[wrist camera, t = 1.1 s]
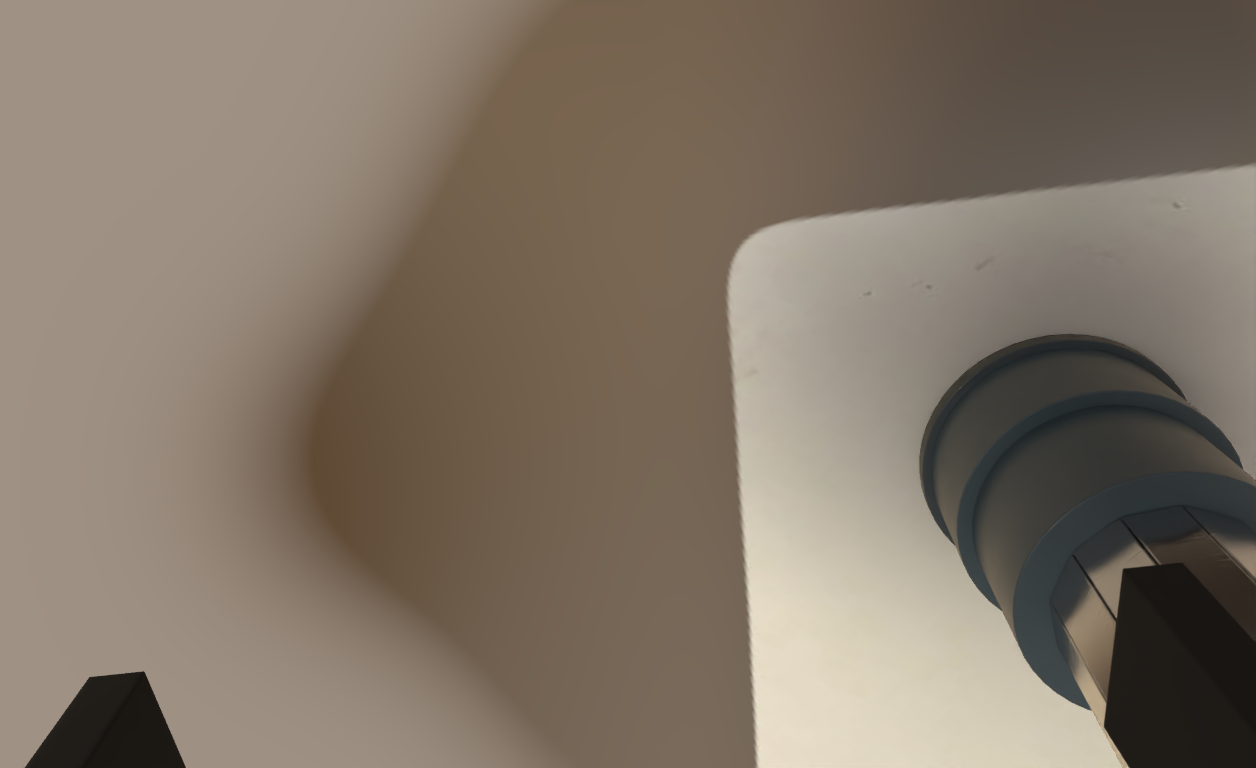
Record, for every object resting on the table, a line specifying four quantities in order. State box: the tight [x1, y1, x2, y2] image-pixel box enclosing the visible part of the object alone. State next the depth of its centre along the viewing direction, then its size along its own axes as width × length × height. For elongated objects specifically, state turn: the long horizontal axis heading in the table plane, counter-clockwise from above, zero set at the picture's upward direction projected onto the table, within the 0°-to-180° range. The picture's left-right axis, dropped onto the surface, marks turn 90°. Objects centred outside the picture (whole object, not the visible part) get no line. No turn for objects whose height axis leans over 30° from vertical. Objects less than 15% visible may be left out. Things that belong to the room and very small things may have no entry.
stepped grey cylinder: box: [920, 334, 1256, 711], centre depth 38 cm, size 12×12×12 cm
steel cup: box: [1049, 505, 1256, 768], centre depth 29 cm, size 7×7×9 cm
